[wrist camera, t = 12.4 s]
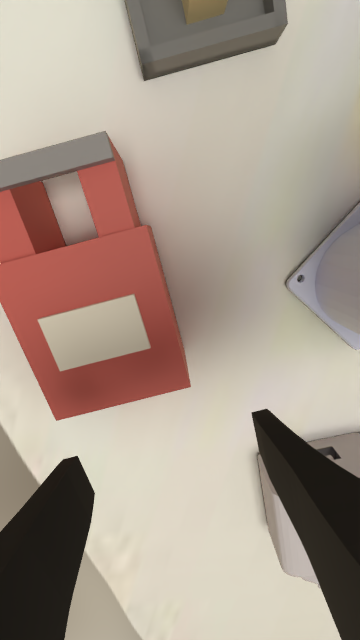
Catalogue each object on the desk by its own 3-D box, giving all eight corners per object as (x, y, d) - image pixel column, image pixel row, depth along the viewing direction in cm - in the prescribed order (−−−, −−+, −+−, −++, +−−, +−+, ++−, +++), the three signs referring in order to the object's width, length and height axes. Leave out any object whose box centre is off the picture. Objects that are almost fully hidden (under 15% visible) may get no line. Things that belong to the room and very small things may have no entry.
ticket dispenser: (4, 192, 17) (-63, 176, 12) (132, 157, 17) (118, 126, 12) (80, 377, 21) (54, 423, 16) (184, 350, 21) (191, 389, 16)
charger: (272, 564, 29) (254, 450, 24) (360, 546, 29) (359, 428, 24) (292, 626, 24) (275, 500, 20) (397, 605, 24) (404, 474, 20)
